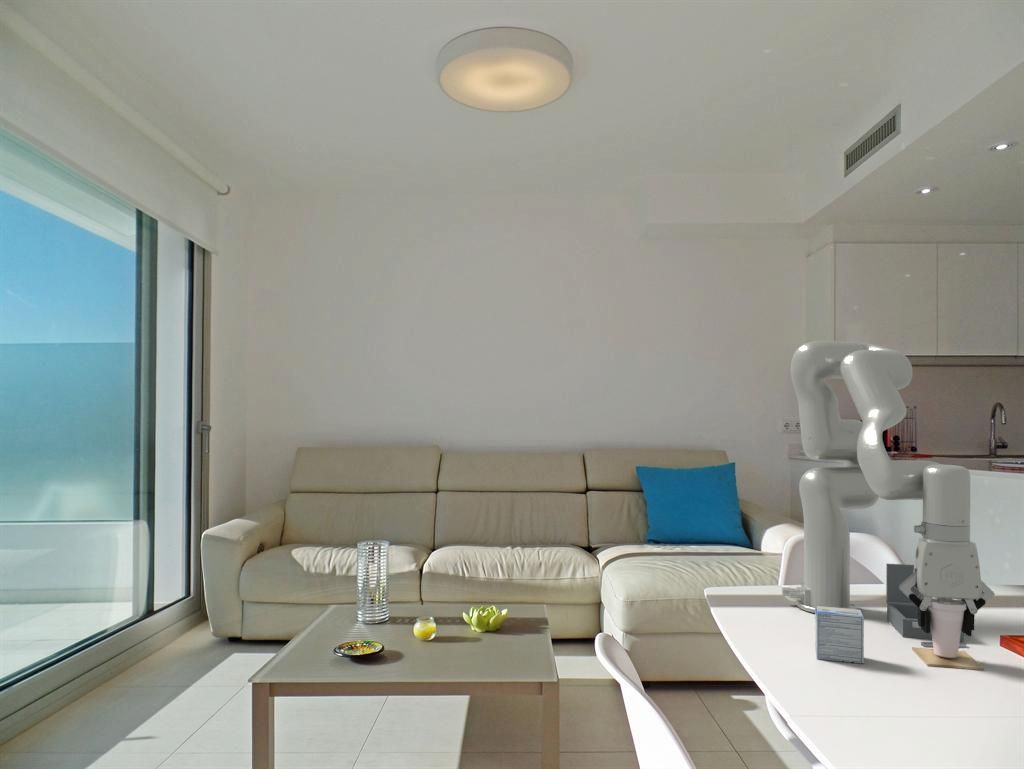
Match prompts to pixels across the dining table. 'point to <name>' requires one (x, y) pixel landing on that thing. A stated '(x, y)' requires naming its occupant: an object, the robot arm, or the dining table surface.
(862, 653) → the medicine box
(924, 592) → the robot arm
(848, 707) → the dining table surface
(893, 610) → the case
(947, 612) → the smoothie
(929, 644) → the rod
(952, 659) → the pad
